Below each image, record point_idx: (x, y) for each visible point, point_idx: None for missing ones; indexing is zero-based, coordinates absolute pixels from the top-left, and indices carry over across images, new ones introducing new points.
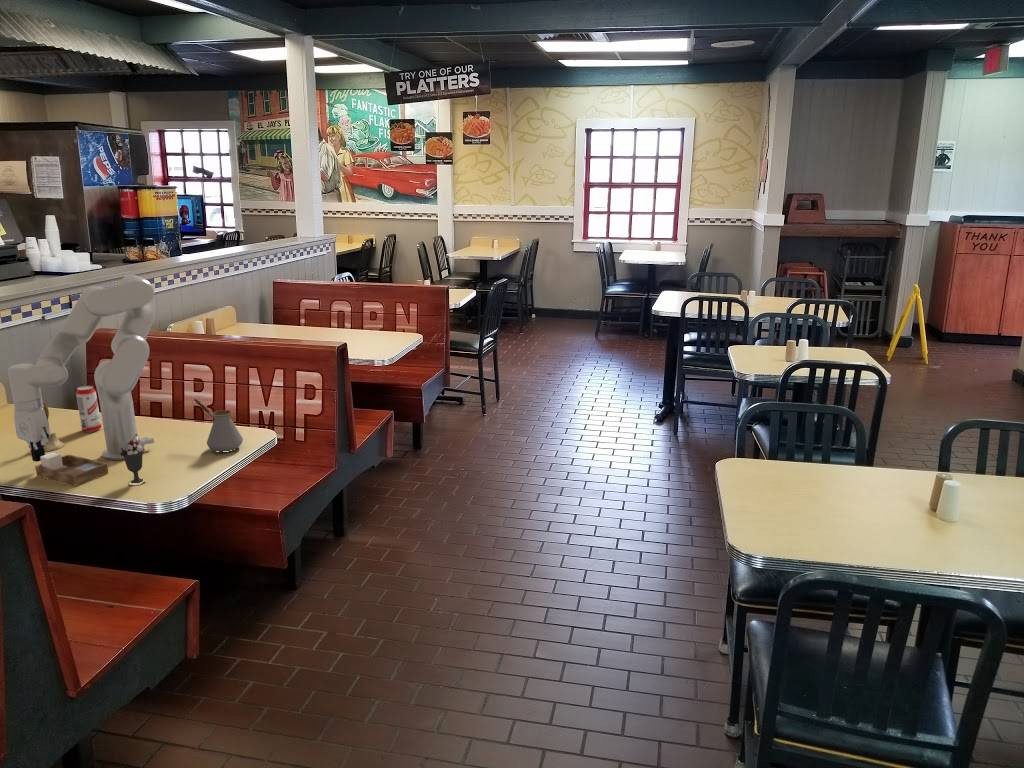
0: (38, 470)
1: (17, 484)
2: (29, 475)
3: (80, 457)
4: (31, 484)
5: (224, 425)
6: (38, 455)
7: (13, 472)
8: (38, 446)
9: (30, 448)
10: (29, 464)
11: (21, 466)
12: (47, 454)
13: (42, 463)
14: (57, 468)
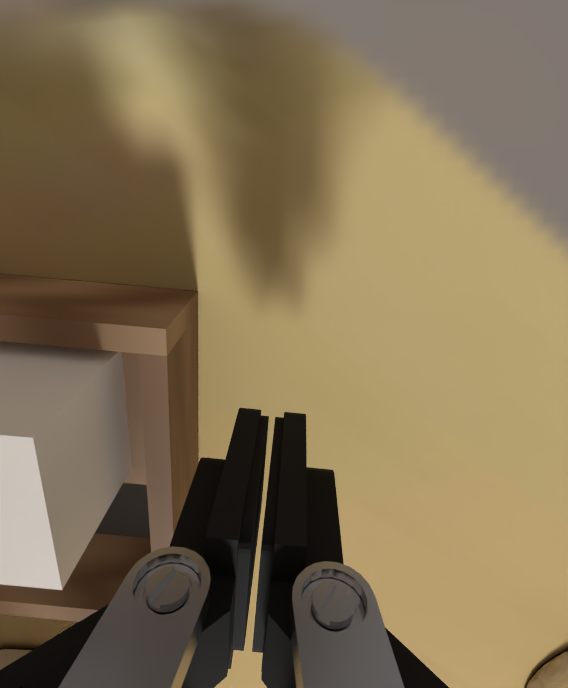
0: (131, 307)
1: (157, 20)
2: (278, 272)
3: (1, 611)
4: (16, 94)
5: None
6: (193, 484)
7: (512, 269)
8: (76, 643)
9: (330, 570)
10: (513, 453)
11: (552, 401)
12: (35, 526)
13: (63, 378)
14: None
